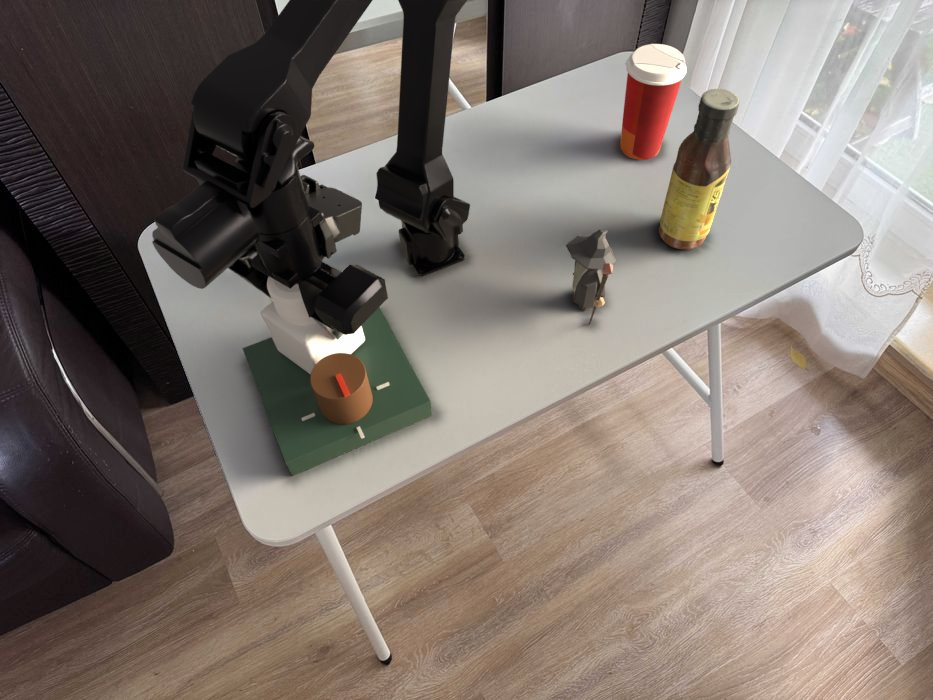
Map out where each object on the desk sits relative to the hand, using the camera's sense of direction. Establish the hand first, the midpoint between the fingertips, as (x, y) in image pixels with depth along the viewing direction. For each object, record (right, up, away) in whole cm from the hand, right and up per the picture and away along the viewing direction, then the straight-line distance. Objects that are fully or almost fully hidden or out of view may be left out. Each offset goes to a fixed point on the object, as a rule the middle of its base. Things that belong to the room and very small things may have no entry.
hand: (313, 320), depth 76 cm
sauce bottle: (+44, +12, +17) cm, 49 cm away
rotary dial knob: (+4, -9, 0) cm, 9 cm away
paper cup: (+41, +26, +27) cm, 56 cm away
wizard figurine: (+31, +2, +10) cm, 33 cm away
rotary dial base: (+2, -8, +4) cm, 9 cm away
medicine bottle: (0, -3, +4) cm, 5 cm away
